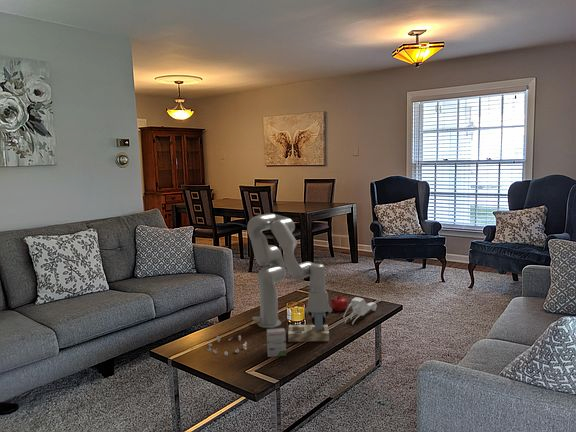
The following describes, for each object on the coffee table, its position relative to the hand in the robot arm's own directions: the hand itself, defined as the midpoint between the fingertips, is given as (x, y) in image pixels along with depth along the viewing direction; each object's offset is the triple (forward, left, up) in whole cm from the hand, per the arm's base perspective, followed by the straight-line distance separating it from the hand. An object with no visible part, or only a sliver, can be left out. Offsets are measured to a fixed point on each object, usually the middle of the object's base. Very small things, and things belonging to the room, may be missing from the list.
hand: (318, 324), depth 231 cm
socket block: (-5, 0, -7) cm, 8 cm away
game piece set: (-44, -12, -7) cm, 46 cm away
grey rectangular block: (0, 0, -2) cm, 2 cm away
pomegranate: (+14, +42, -7) cm, 45 cm away
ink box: (-20, -21, -7) cm, 30 cm away
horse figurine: (+25, +28, -7) cm, 38 cm away
